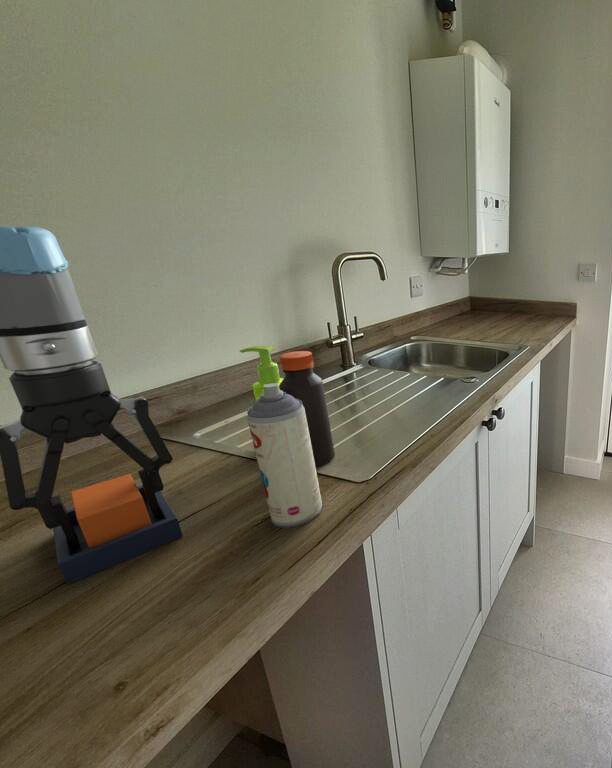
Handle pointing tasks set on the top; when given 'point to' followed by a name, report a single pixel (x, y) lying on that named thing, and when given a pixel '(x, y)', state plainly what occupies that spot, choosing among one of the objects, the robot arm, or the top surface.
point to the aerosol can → (285, 457)
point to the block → (109, 510)
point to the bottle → (309, 401)
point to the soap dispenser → (264, 369)
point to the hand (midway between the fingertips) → (117, 527)
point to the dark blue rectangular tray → (114, 542)
